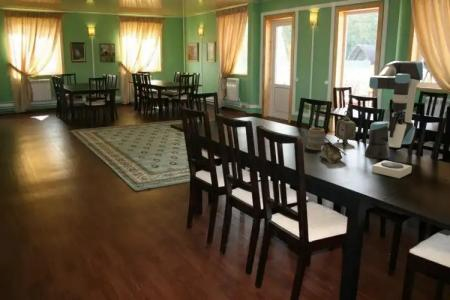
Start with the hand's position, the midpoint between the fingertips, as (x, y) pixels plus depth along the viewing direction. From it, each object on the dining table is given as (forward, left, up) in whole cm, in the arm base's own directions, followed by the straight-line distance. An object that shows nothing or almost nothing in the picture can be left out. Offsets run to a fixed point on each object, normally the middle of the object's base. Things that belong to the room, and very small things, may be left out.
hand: (394, 141), depth 222 cm
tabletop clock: (-58, +49, -18) cm, 78 cm away
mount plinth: (0, 0, -18) cm, 18 cm away
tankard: (-66, +21, -18) cm, 72 cm away
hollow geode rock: (-40, +1, -18) cm, 44 cm away
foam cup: (0, 0, -3) cm, 3 cm away
